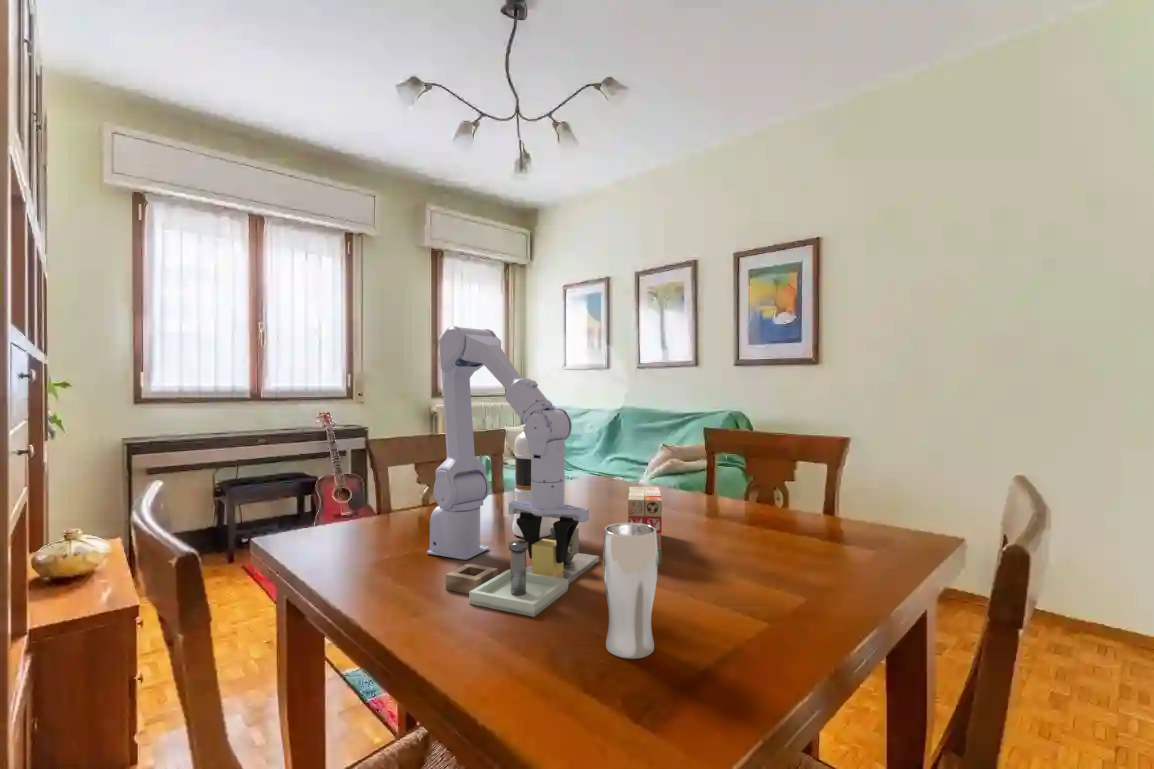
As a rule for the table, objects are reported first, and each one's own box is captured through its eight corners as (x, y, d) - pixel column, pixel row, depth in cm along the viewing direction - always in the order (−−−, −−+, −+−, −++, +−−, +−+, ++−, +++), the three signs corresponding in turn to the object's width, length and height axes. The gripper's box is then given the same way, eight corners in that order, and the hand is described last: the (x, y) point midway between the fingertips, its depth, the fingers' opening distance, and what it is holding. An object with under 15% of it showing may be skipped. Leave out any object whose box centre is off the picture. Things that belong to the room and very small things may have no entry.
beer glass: (599, 635, 73) (599, 522, 73) (651, 633, 74) (651, 521, 74) (606, 662, 66) (606, 537, 66) (663, 660, 67) (664, 535, 67)
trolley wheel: (515, 579, 94) (515, 538, 94) (556, 555, 107) (556, 518, 107) (563, 588, 90) (563, 545, 90) (598, 561, 104) (599, 524, 104)
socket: (445, 589, 90) (445, 574, 90) (468, 577, 95) (468, 563, 95) (476, 595, 87) (476, 580, 87) (497, 582, 92) (497, 568, 92)
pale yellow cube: (531, 574, 94) (531, 544, 94) (543, 567, 97) (543, 538, 97) (552, 577, 92) (552, 547, 92) (563, 570, 96) (563, 541, 96)
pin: (505, 594, 86) (505, 544, 86) (514, 588, 88) (514, 539, 88) (522, 598, 84) (522, 546, 84) (531, 591, 87) (531, 541, 87)
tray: (469, 603, 84) (469, 591, 84) (508, 579, 94) (508, 569, 94) (534, 616, 79) (534, 604, 79) (568, 590, 89) (568, 579, 89)
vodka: (524, 541, 116) (525, 399, 116) (505, 532, 124) (505, 398, 124) (562, 535, 121) (562, 398, 121) (541, 526, 129) (541, 397, 129)
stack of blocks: (629, 533, 123) (629, 478, 123) (657, 534, 123) (657, 479, 123) (627, 564, 102) (627, 498, 102) (662, 566, 102) (662, 499, 101)
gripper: (499, 480, 94) (498, 560, 94) (576, 487, 88) (576, 572, 88) (520, 474, 100) (520, 549, 101) (593, 480, 94) (593, 559, 94)
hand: (547, 559), depth 95 cm, fingers open, 5 cm apart
